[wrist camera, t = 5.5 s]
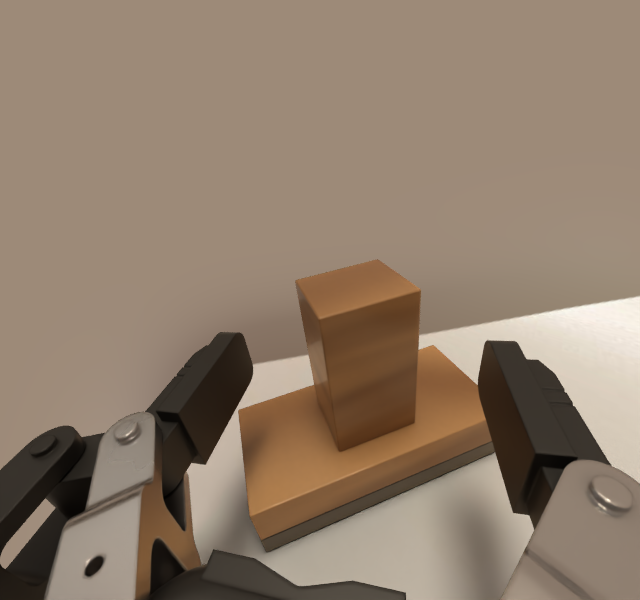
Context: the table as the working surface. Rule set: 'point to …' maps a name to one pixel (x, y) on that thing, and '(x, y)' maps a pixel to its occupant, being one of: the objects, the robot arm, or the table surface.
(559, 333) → the table surface
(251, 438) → the eraser
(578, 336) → the table surface
